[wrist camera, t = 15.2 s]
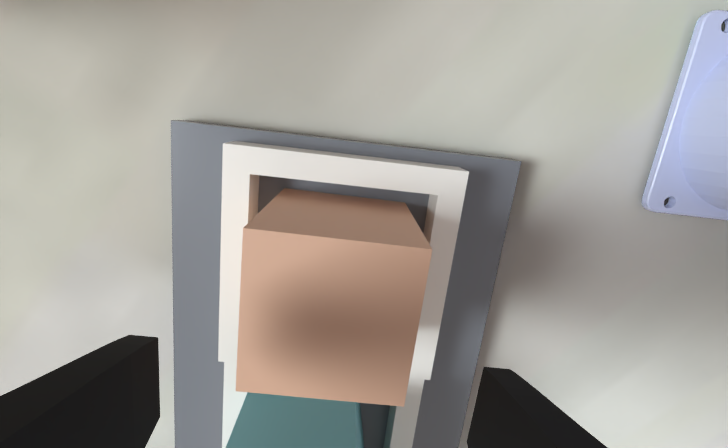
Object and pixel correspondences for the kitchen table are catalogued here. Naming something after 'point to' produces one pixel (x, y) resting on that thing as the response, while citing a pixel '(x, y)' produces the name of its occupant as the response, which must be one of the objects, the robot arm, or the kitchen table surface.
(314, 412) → the teal bar
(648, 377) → the kitchen table surface
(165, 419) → the kitchen table surface
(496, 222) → the shape board
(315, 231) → the terracotta block
